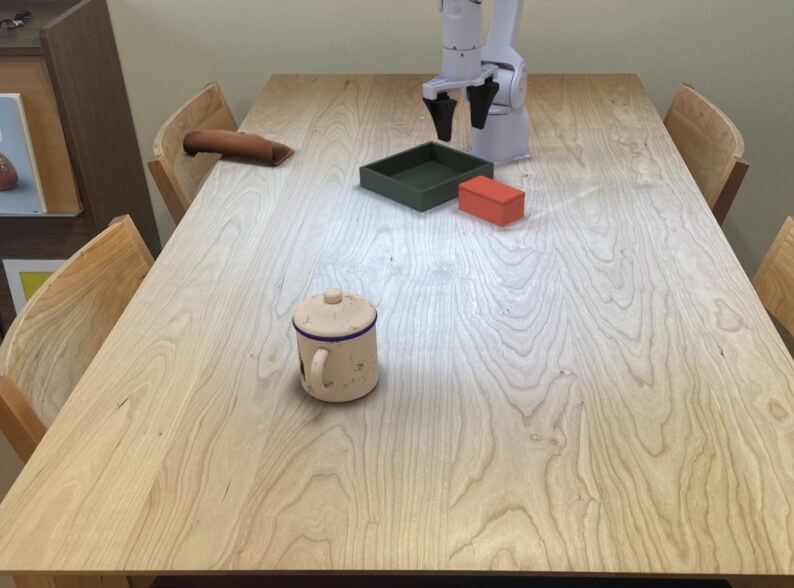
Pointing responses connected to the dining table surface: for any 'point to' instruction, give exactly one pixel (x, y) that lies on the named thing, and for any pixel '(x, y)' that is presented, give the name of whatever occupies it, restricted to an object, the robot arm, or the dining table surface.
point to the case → (491, 200)
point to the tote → (423, 175)
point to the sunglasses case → (236, 145)
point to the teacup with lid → (337, 345)
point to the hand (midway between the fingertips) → (461, 134)
